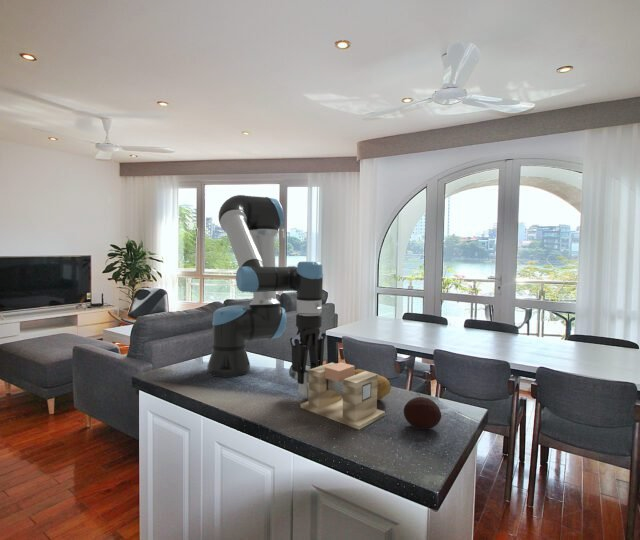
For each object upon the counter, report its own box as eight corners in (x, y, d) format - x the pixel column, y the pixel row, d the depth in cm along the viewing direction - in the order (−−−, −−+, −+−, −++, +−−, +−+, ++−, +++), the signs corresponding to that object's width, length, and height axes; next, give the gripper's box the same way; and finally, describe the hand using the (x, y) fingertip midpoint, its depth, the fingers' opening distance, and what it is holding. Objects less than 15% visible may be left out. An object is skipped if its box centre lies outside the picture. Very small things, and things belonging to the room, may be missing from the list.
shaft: (289, 380, 117) (289, 363, 117) (301, 376, 121) (301, 360, 121) (360, 404, 100) (361, 384, 100) (371, 398, 104) (372, 379, 104)
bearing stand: (300, 407, 109) (301, 368, 109) (328, 396, 118) (329, 360, 118) (359, 429, 96) (360, 385, 96) (384, 415, 105) (386, 375, 105)
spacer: (324, 378, 106) (324, 367, 106) (340, 372, 112) (340, 362, 112) (339, 382, 103) (339, 371, 103) (354, 376, 108) (354, 365, 108)
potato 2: (402, 419, 103) (403, 390, 102) (439, 423, 101) (440, 393, 101) (403, 433, 95) (404, 402, 95) (442, 437, 93) (444, 405, 93)
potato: (378, 410, 109) (378, 381, 108) (341, 396, 119) (341, 370, 119) (398, 401, 116) (399, 374, 115) (361, 388, 126) (362, 364, 125)
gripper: (298, 318, 106) (296, 403, 107) (336, 312, 119) (334, 388, 119) (279, 315, 111) (278, 396, 112) (318, 309, 123) (316, 382, 124)
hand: (307, 392), depth 116 cm, fingers closed on shaft, 3 cm apart
